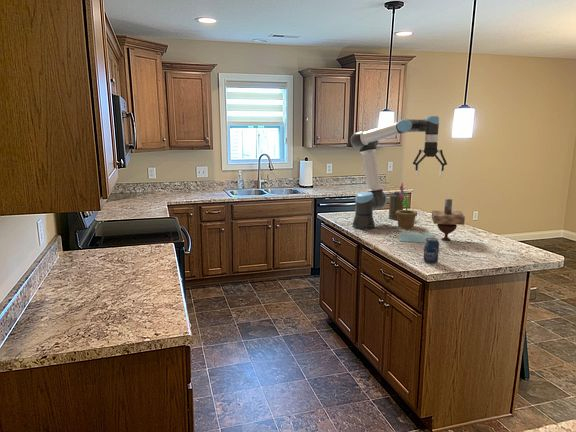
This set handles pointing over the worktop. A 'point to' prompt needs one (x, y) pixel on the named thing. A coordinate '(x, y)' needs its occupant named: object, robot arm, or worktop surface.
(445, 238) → the ice cream bowl
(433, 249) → the soda can
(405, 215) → the flowerpot
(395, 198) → the canister
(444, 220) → the lid
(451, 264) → the worktop surface
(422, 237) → the mat
